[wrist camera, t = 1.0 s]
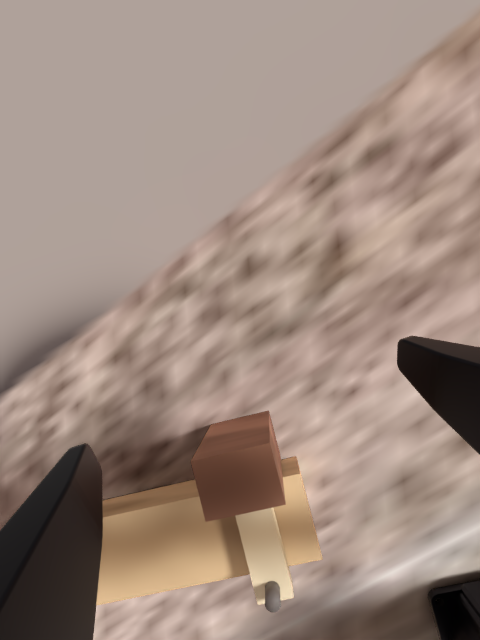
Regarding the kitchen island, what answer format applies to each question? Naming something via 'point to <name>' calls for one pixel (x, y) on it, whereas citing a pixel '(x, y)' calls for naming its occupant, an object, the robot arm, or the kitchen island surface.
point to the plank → (189, 539)
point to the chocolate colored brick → (247, 497)
